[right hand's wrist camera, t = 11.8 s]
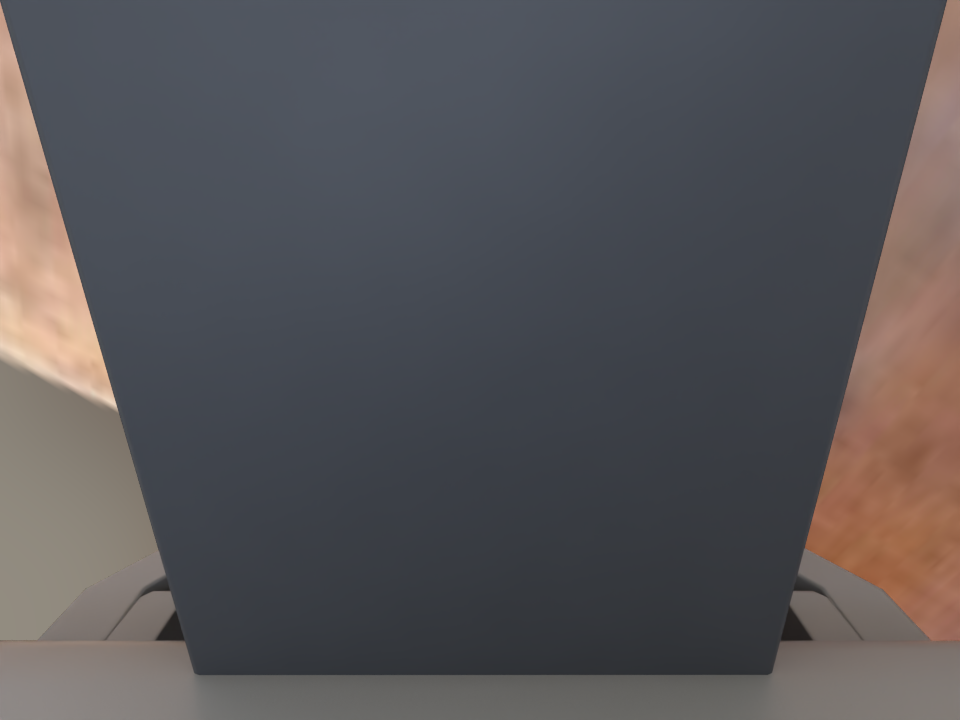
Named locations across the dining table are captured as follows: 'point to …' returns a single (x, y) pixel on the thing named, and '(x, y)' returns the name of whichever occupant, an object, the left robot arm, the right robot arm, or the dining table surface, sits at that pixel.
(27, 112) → the dining table surface
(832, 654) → the right robot arm
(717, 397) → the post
